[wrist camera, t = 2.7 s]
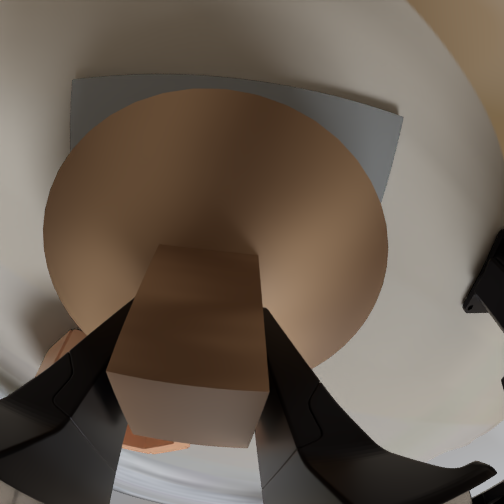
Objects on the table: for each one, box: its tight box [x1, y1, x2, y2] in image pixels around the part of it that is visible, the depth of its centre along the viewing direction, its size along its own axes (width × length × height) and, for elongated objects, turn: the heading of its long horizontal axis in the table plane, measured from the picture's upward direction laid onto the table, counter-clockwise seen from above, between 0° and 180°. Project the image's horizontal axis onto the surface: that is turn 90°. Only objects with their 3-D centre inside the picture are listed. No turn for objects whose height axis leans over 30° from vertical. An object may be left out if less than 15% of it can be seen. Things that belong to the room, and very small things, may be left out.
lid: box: [43, 89, 388, 448], centre depth 8 cm, size 13×13×6 cm
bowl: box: [35, 329, 190, 454], centre depth 18 cm, size 12×12×4 cm
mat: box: [70, 74, 403, 203], centre depth 13 cm, size 14×14×1 cm
